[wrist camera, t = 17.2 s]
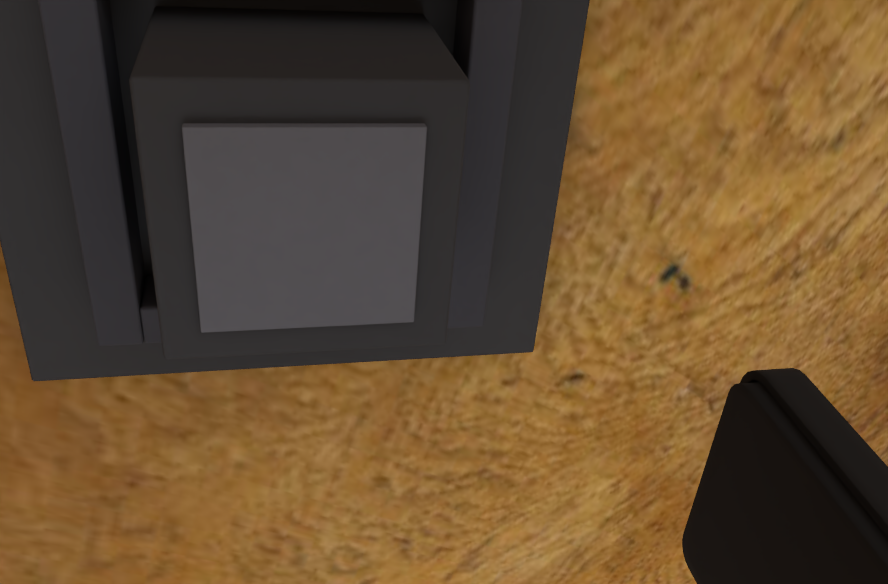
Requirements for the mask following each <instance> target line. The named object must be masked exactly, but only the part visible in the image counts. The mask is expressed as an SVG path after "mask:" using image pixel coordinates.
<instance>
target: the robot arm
mask: <svg viewBox="0 0 888 584" xmlns="http://www.w3.org/2000/svg"><path fill="white" fill-rule="evenodd" d="M682 547H683V554H684V557H685V561H686V563H687V565H688V568H689V569H690V571H691V573H692V575H693V577H694V579H695V581H696V582H697V584H888V467H887V465H886V464H885V463H884V462H883V461H882V460H881V459H880V458H879V457H878V455H877V454H876V453H875V452H874V451H873V450H872V449H871V448H870V446H869V445H868V444H867V443H866V442H865V441H864V440H863V439H862V438H861V436H860V435H859V434H858V433H857V432H856V431H855V430H854V429H853V428H852V426H851V425H850V424H849V423H848V422H847V421H846V420H845V419H844V417H843V416H842V415H841V414H840V413H839V412H838V411H837V410H836V409H835V407H834V406H833V405H832V404H831V403H830V402H829V401H828V400H827V399H826V397H825V396H824V395H823V394H822V393H821V392H820V391H819V390H818V388H817V387H816V386H815V385H814V384H813V383H812V382H811V381H810V380H809V378H808V377H807V376H806V375H805V374H804V373H802V372H801V371H800V370H797V369H794V368H786V369H771V370H755V371H750V372H747V373H746V374H745V375H744V376H743V378H742V380H741V382H740V383H739V384H735V385H734V386H733V387H731V389H730V391H729V393H728V396H727V400H726V403H725V406H724V409H723V412H722V415H721V418H720V421H719V425H718V428H717V431H716V434H715V437H714V440H713V443H712V446H711V449H710V453H709V456H708V459H707V462H706V465H705V468H704V471H703V474H702V478H701V481H700V484H699V487H698V490H697V493H696V496H695V499H694V503H693V506H692V509H691V512H690V515H689V518H688V521H687V524H686V527H685V531H684V534H683V539H682Z"/></svg>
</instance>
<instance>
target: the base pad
mask: <svg viewBox="0 0 888 584" xmlns="http://www.w3.org/2000/svg"><path fill="white" fill-rule="evenodd" d="M157 6H163V7H200V8H237V9H274V10H310V11H347V12H384V13H420V14H423V15H425V17H426V18H427V20H428V21H429V23H430V24H431V26H432V27H433V28H434V30H435V31H436V33H437V34H438V36H439V37H440V39H441V40H442V42H443V43H444V45H445V46H446V47H447V49H448V50H449V52H450V53H451V55H452V56H453V58H454V59H455V61H456V62H457V63H458V65H459V66H460V68H461V69H462V71H463V72H464V74H465V75H466V77H467V78H468V80H469V82H470V91H469V102H468V112H467V123H466V134H465V145H464V155H463V166H462V177H461V188H460V199H459V209H458V220H457V231H456V242H455V252H454V263H453V274H452V285H451V295H450V306H449V317H448V328H447V338H446V342H445V344H443V345H425V346H406V347H388V348H370V349H352V350H334V351H316V352H297V353H279V354H261V355H243V356H225V357H207V358H189V359H170V360H167V359H165V358H164V356H163V350H162V341H161V333H160V325H159V317H158V309H157V301H156V293H155V285H154V277H153V269H152V261H151V253H150V245H149V237H148V229H147V221H146V213H145V205H144V197H143V189H142V181H141V173H140V165H139V157H138V148H137V140H136V132H135V124H134V116H133V108H132V100H131V92H130V84H129V79H130V76H131V73H132V70H133V67H134V65H135V62H136V59H137V56H138V53H139V51H140V48H141V45H142V42H143V39H144V36H145V34H146V31H147V28H148V25H149V22H150V19H151V17H152V14H153V11H154V8H155V7H157ZM588 6H589V0H0V242H1V247H2V251H3V255H4V260H5V264H6V269H7V273H8V277H9V282H10V286H11V290H12V295H13V299H14V303H15V308H16V312H17V316H18V321H19V325H20V329H21V334H22V338H23V342H24V347H25V351H26V355H27V360H28V364H29V368H30V373H31V377H32V380H33V381H46V380H63V379H80V378H97V377H114V376H131V375H148V374H165V373H183V372H200V371H217V370H234V369H251V368H268V367H285V366H302V365H319V364H336V363H354V362H371V361H388V360H405V359H422V358H439V357H456V356H473V355H490V354H507V353H524V352H533V350H534V343H535V337H536V331H537V325H538V318H539V312H540V306H541V300H542V294H543V287H544V281H545V275H546V269H547V262H548V256H549V250H550V244H551V237H552V231H553V225H554V219H555V212H556V206H557V200H558V194H559V187H560V181H561V175H562V169H563V162H564V156H565V150H566V144H567V137H568V131H569V125H570V119H571V113H572V106H573V100H574V94H575V88H576V81H577V75H578V69H579V63H580V56H581V50H582V44H583V38H584V31H585V25H586V19H587V13H588Z"/></svg>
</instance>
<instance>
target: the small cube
mask: <svg viewBox="0 0 888 584" xmlns="http://www.w3.org/2000/svg"><path fill="white" fill-rule="evenodd" d="M129 84H130V92H131V100H132V108H133V116H134V124H135V132H136V140H137V148H138V157H139V165H140V173H141V181H142V189H143V197H144V205H145V213H146V221H147V229H148V237H149V245H150V253H151V261H152V269H153V277H154V285H155V293H156V301H157V309H158V317H159V325H160V333H161V341H162V350H163V356H164V358H165V359H167V360H170V359H189V358H207V357H225V356H243V355H261V354H279V353H297V352H316V351H334V350H352V349H370V348H388V347H406V346H425V345H443V344H445V342H446V338H447V328H448V317H449V306H450V295H451V285H452V274H453V263H454V252H455V242H456V231H457V220H458V209H459V199H460V188H461V177H462V166H463V155H464V145H465V134H466V123H467V112H468V102H469V91H470V82H469V80H468V78H467V77H466V75H465V74H464V72H463V71H462V69H461V68H460V66H459V65H458V63H457V62H456V61H455V59H454V58H453V56H452V55H451V53H450V52H449V50H448V49H447V47H446V46H445V45H444V43H443V42H442V40H441V39H440V37H439V36H438V34H437V33H436V31H435V30H434V28H433V27H432V26H431V24H430V23H429V21H428V20H427V18H426V17H425V15H423V14H420V13H384V12H347V11H310V10H274V9H237V8H200V7H163V6H157V7H155V8H154V11H153V14H152V17H151V19H150V22H149V25H148V28H147V31H146V34H145V36H144V39H143V42H142V45H141V48H140V51H139V53H138V56H137V59H136V62H135V65H134V67H133V70H132V73H131V76H130V79H129Z"/></svg>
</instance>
